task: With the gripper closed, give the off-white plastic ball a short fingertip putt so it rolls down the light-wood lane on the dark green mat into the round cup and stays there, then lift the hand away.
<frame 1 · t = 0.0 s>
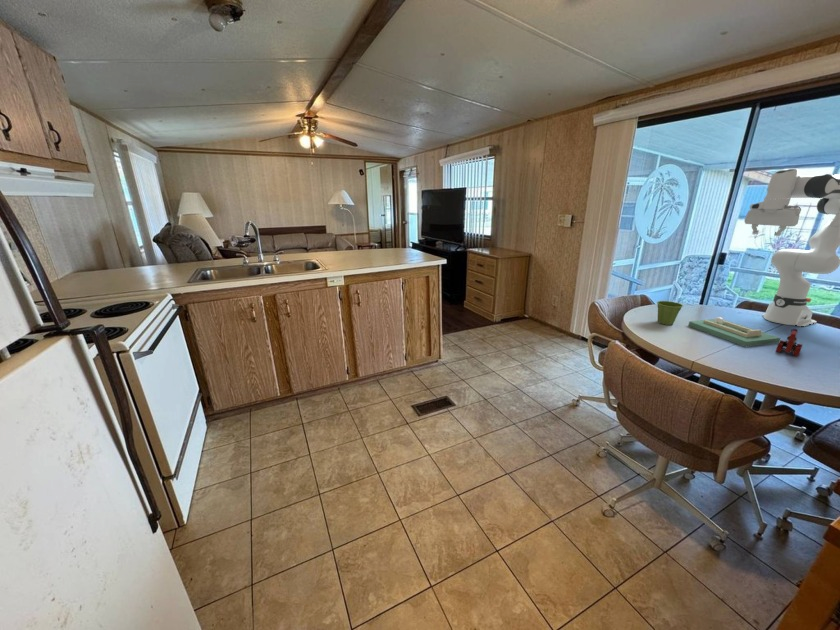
hand: (765, 234, 164), 48 cm above the table, tool pointing down, fingers open, 8 cm apart
plant pot: (665, 323, 185), on the table
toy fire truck: (787, 352, 149), on the table
putting mat: (730, 333, 169), on the table
ball: (718, 320, 174), point 4 cm above the table, touching putting mat
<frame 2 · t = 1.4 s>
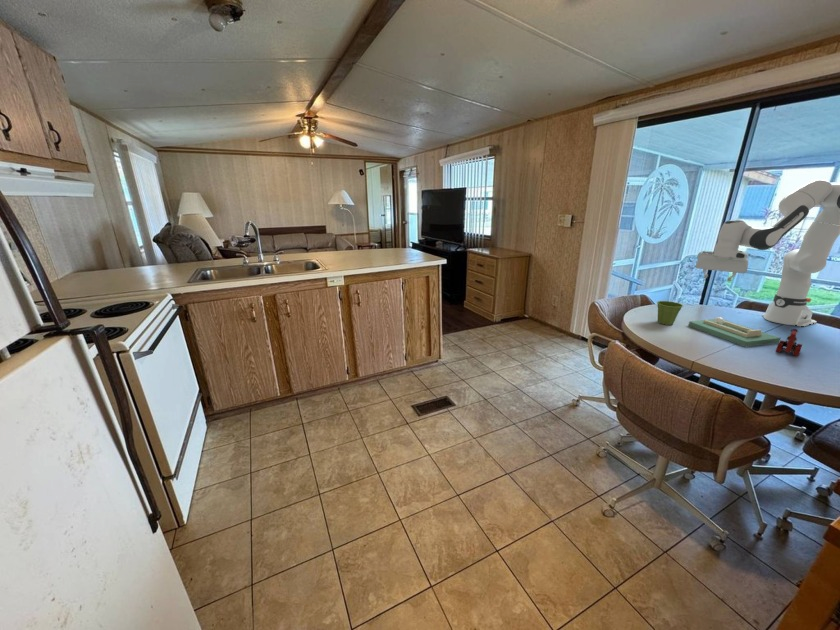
hand: (716, 279, 174), 25 cm above the table, tool pointing down, fingers open, 8 cm apart
nothing on the table moved.
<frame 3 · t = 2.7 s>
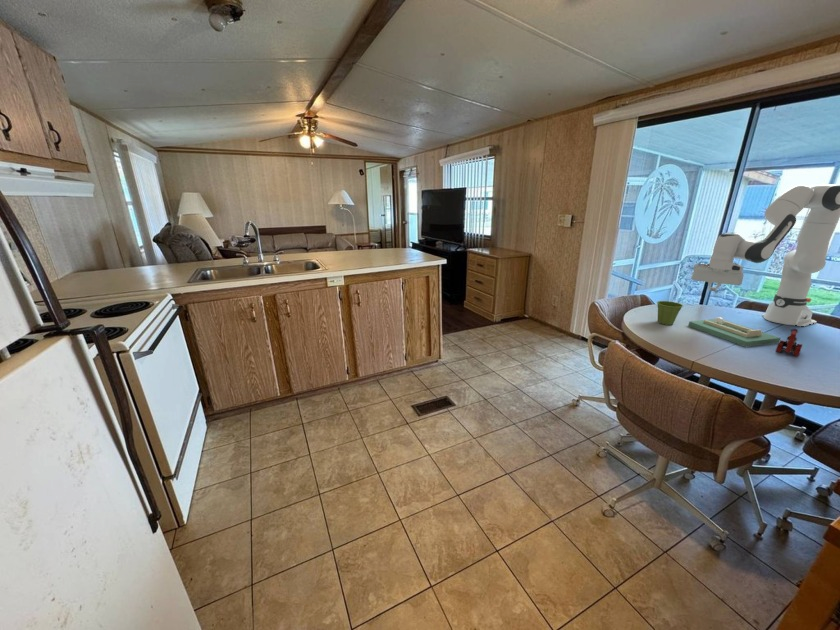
hand: (712, 290, 176), 19 cm above the table, tool pointing down, fingers closed
nothing on the table moved.
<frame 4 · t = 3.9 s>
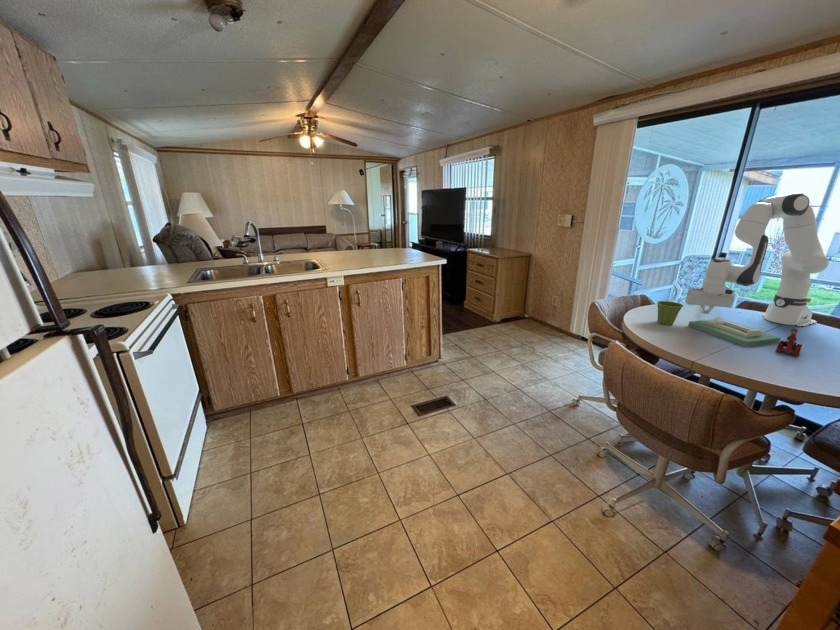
hand: (705, 313, 181), 6 cm above the table, tool pointing down, fingers closed
nothing on the table moved.
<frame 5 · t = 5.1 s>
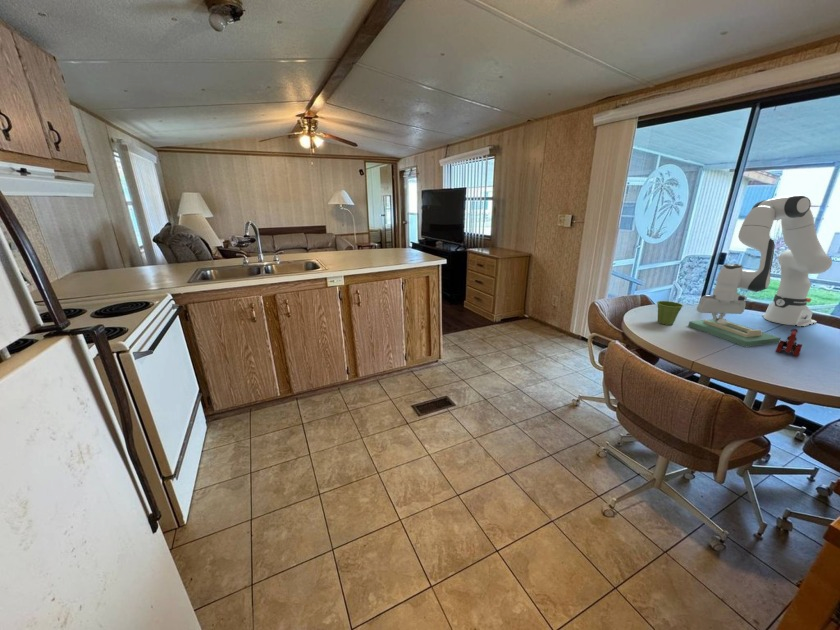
hand: (716, 320, 175), 4 cm above the table, tool pointing down, fingers closed
ball: (722, 322, 172), point 4 cm above the table, tilted 56°, touching putting mat
everything else where it was.
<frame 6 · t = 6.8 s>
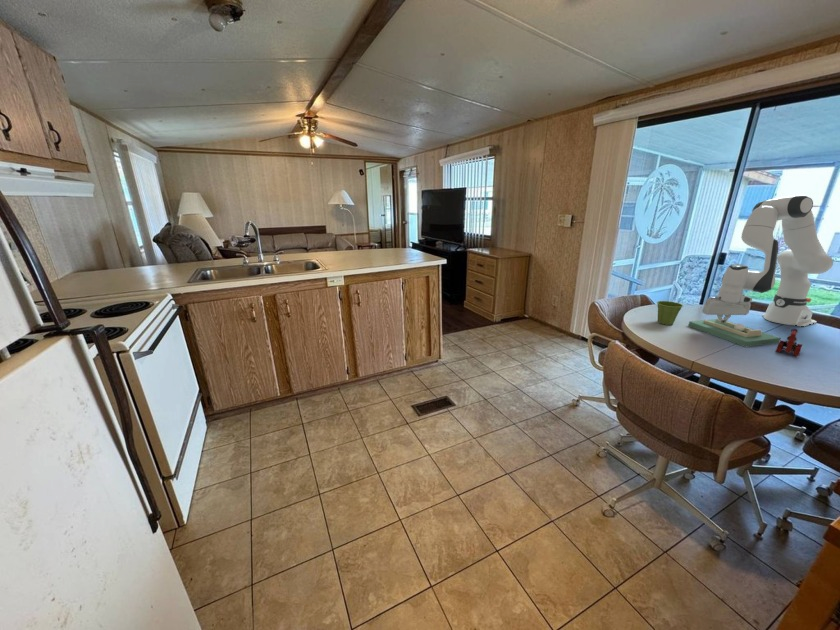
hand: (721, 322, 173), 4 cm above the table, tool pointing down, fingers closed
ball: (739, 327, 165), point 4 cm above the table, tilted 64°, touching putting mat
everything else where it was.
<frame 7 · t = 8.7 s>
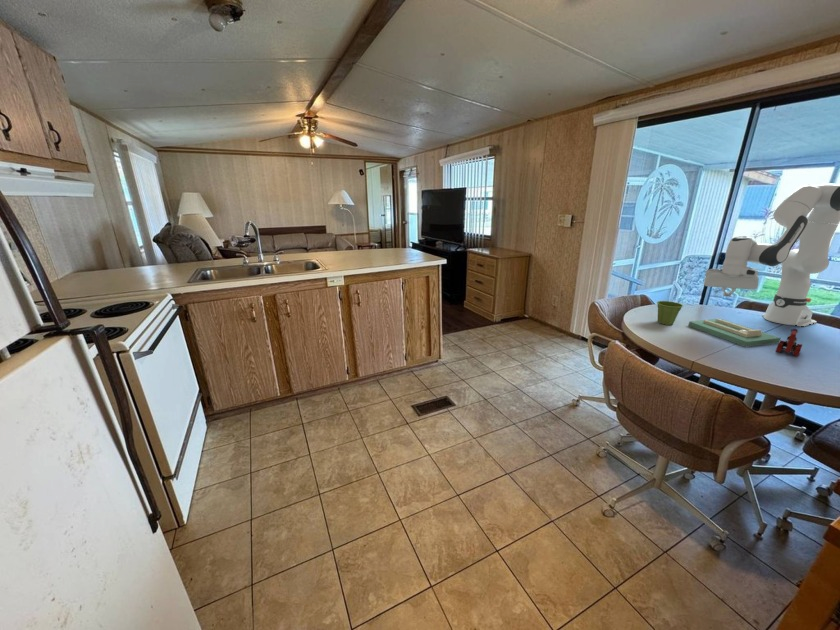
hand: (726, 296, 172), 17 cm above the table, tool pointing down, fingers closed
ball: (742, 333, 164), point 2 cm above the table, tilted 28°
everything else where it was.
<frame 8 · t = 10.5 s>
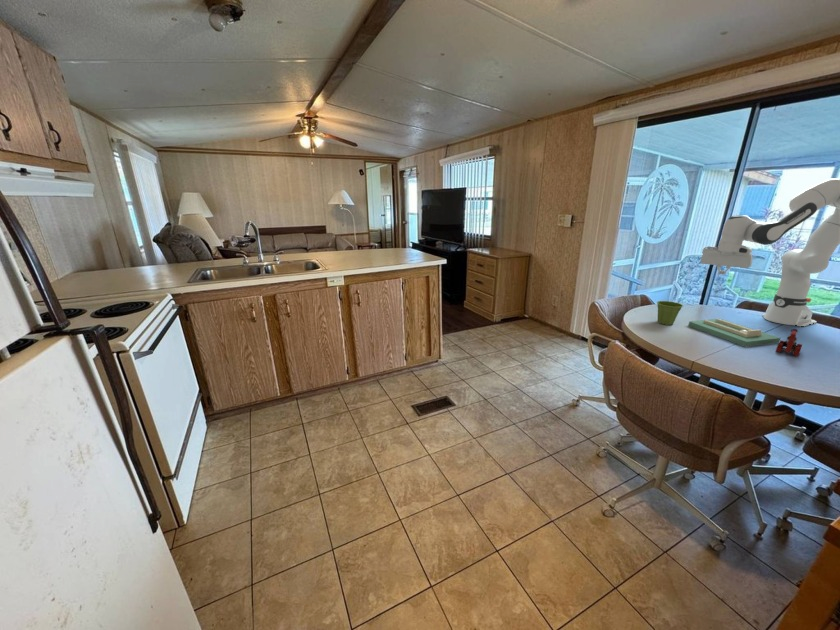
hand: (721, 274, 177), 27 cm above the table, tool pointing down, fingers closed
ball: (743, 333, 164), point 2 cm above the table, tilted 35°
everything else where it was.
at the end: ball 0.7 cm from the target spot on the putting mat, point 2.0 cm above the putting mat's base; ball touching table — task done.
